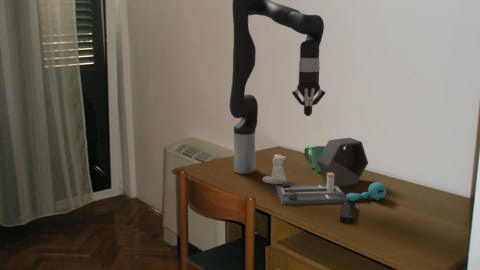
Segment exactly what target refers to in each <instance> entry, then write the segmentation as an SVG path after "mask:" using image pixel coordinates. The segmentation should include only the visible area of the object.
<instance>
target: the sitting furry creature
mask: <svg viewBox="0 0 480 270" xmlns="http://www.w3.org/2000/svg"><path fill="white" fill-rule="evenodd" d="M286 157H287V156H285V155H281V154H280V153H279V154H274V157H273V158H272V161H271V163H272V164H273V166H272V170H271V171H272V172H271V176H270V175H265V176H263V177H262V182H263V183H266V184H271V185H278V186H281V185H283V181H287V175H286V173H285V168H284V166H283V162H284V160H286V159H287V158H286Z"/></svg>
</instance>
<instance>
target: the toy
mask: <svg viewBox="0 0 480 270" xmlns="http://www.w3.org/2000/svg"><path fill="white" fill-rule="evenodd" d="M386 194H387V188H386V186H385V185H384V184H383V183H382V182H378V181H377V182H373V183H371V184H369V186H368V190H367V191H364V192H362V193H355V192H349V193H347V194H345V196H346V197H347V198H348V202H355V201H357V200H359V199H367V198H369V197H370V198H371V199H372V200H376V201H379V200H382V199H384V198H385V196H386Z"/></svg>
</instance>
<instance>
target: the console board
mask: <svg viewBox="0 0 480 270" xmlns="http://www.w3.org/2000/svg"><path fill="white" fill-rule="evenodd" d="M291 184H292V182H291V181H289V180H286V181H283V184H282V185H275V191H276V193H277V195H278V198H279V201H280V203H281V205H285V206H287V205H313V204H316V205H317V204H342V203H343V202H349V201H348V198H347V197H346V194H345V193H344V191H343V190H342V189H341V187H338V186H337V184H334V191H328V190H327V189H326V188H327V184H301V185H300V184H297V185H291Z"/></svg>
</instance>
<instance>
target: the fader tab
mask: <svg viewBox="0 0 480 270" xmlns="http://www.w3.org/2000/svg"><path fill="white" fill-rule="evenodd" d="M334 177H335V175H334V174H333V172H331V173H327V182H326V185H327V188H326V189H327V190H328V191H334Z"/></svg>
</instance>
